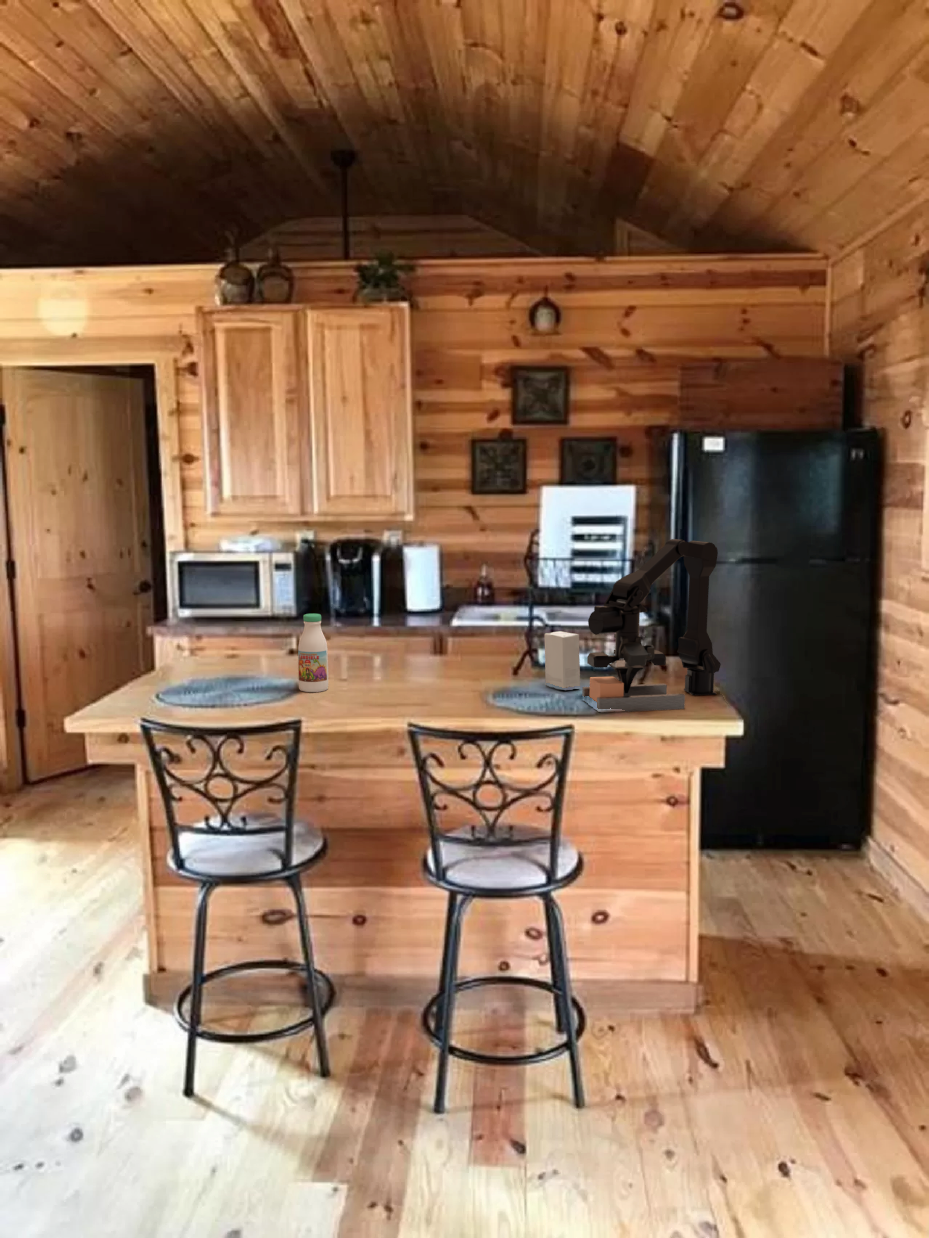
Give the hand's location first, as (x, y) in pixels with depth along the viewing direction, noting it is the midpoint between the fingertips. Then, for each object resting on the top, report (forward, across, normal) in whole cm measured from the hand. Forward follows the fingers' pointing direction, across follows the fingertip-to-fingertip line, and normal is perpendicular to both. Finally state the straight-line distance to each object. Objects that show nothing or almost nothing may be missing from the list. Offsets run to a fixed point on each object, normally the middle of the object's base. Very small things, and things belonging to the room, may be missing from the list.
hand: (625, 692), depth 258 cm
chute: (+3, +2, 0) cm, 4 cm away
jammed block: (+2, -5, 0) cm, 5 cm away
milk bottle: (+3, -75, +31) cm, 81 cm away
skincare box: (+3, -10, +21) cm, 24 cm away
